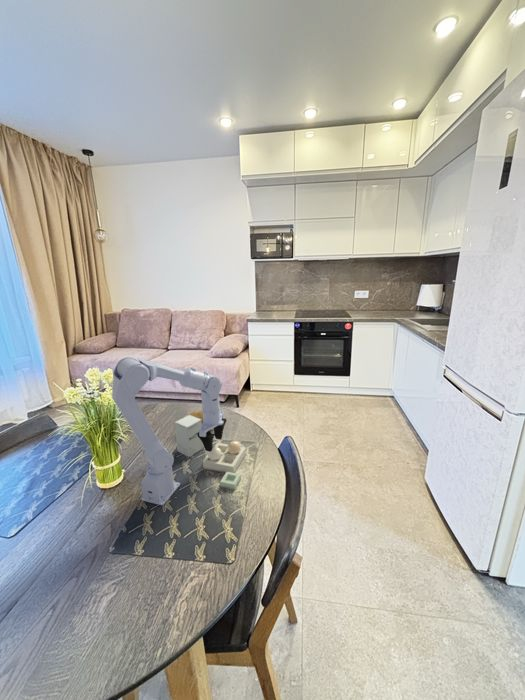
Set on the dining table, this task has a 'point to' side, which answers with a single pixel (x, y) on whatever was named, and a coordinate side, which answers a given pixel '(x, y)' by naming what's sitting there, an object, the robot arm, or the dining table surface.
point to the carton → (225, 460)
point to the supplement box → (188, 435)
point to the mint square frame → (230, 480)
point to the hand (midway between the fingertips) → (213, 444)
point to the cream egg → (215, 454)
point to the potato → (198, 415)
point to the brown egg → (234, 447)
